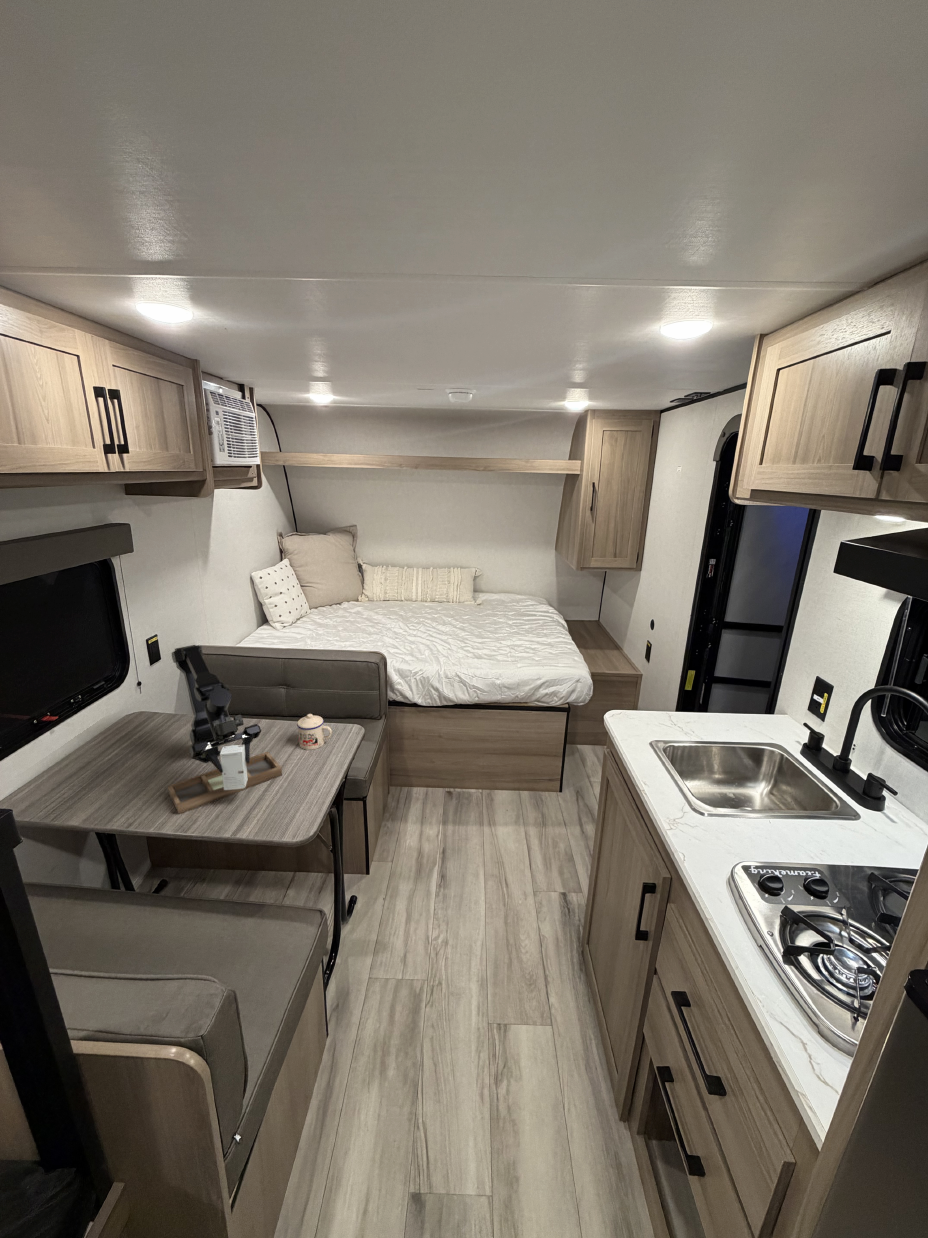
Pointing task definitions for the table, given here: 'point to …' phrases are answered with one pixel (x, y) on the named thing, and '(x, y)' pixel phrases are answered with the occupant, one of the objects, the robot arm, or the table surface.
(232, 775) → the skincare box
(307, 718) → the teacup with lid
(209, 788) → the three bay box
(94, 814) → the table surface
